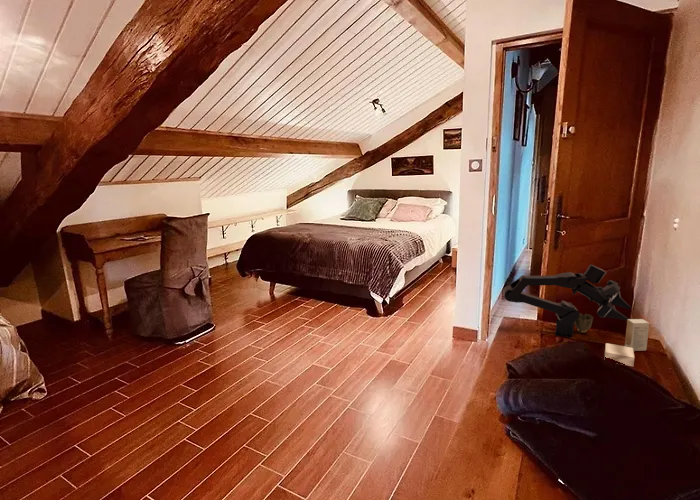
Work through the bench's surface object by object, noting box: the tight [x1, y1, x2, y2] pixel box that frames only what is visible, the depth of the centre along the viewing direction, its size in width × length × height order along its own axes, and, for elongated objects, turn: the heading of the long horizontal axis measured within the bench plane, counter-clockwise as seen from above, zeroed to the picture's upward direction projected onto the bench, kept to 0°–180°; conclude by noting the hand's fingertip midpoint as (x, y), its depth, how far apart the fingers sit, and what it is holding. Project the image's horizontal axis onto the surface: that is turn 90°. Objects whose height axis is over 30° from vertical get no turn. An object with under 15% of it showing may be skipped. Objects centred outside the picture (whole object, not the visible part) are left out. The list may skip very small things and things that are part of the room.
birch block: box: [604, 342, 635, 367], centre depth 152 cm, size 9×9×4 cm
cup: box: [574, 312, 594, 334], centre depth 176 cm, size 8×7×8 cm
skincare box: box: [624, 318, 650, 352], centre depth 159 cm, size 6×4×12 cm
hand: (628, 313), depth 161 cm, fingers open, 9 cm apart
